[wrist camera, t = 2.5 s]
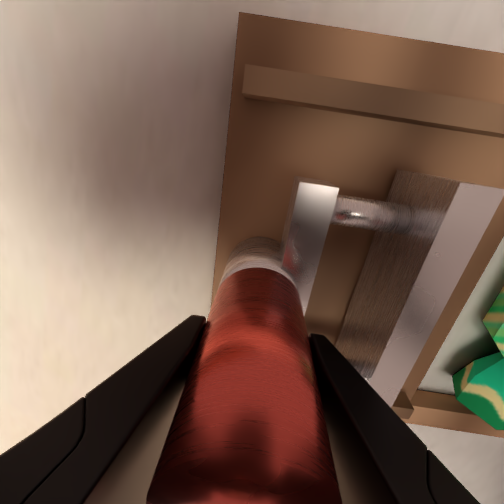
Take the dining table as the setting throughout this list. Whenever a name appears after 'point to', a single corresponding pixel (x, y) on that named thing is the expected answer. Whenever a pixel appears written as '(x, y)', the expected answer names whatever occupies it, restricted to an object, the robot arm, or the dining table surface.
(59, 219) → the dining table surface
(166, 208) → the dining table surface
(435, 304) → the lever
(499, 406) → the candy
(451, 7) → the dining table surface
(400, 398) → the wooden vise
